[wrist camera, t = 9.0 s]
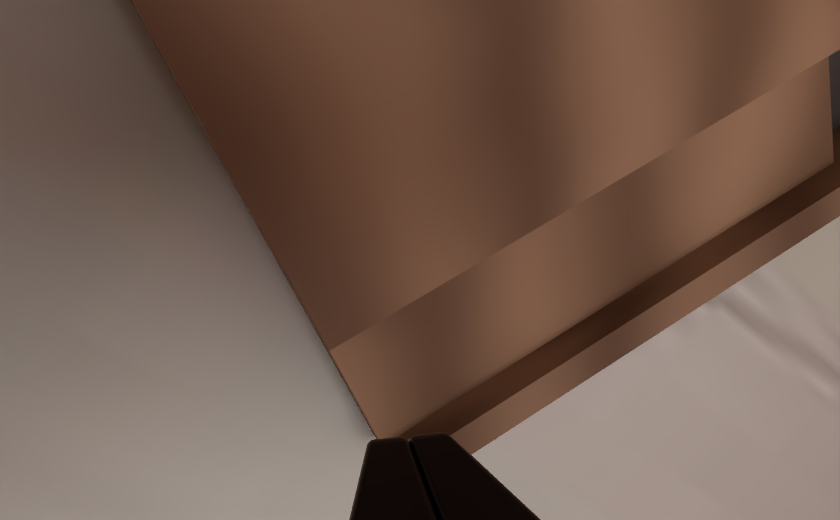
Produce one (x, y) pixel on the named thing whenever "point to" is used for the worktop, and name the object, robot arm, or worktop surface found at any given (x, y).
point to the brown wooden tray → (510, 176)
